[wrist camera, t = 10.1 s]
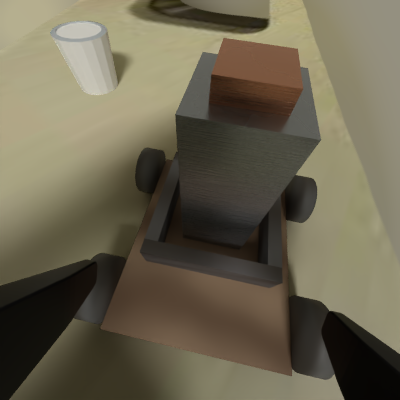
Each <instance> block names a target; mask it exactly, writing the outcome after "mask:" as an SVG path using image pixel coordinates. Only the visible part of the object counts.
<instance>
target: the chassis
mask: <svg viewBox="0 0 400 400" xmlns="http://www.w3.org/2000/svg"><path fill="white" fill-rule="evenodd" d="M135 179H136V186H137V188H138V190H139V191H143V192H148V193H153V196H152V198H151V201H150V203H149V206H148V208H147V211H146V213H145V216H144V218H143V221H142V224H141V226H140V229H139V231H138V234H137V236H136V239H135V241H134V244H133V246H132V249H131V251H130V254H129V256H128V259H127V262H126V260H125V258H123V257H119V256H114V255H110V254H105V253H100V254H98V255H96V256H94V257H93V258H92V259H91V260H92V261H96V262H97V264H98V268H97V281H96V284H95V286H94V288H93V289H92V291H91V292H90V294H89V295H88V297H87V298H86V300H85V301H84V303H83V304H82V306H81V307H80V309H79V310H78V312H77V313H76V315H75V316H74V318H75V319H79V320H83V321H87V322H91V323H95V324H100V323H102V325H101V327H100V329H102V330H106V331H110V332H114V333H118V334H122V335H126V336H130V337H134V338H139V339H143V340H147V341H151V342H155V343H159V344H163V345H167V346H171V347H175V348H179V349H183V350H187V351H191V352H195V353H200V354H204V355H208V356H212V357H216V358H220V359H224V360H228V361H232V362H236V363H240V364H244V365H248V366H252V367H256V368H261V369H265V370H269V371H273V372H277V373H281V374H285V375H289V376H292V369H293V370H294V371H295V372H297V373H300V374H304V375H308V376H312V377H316V378H320V379H324V380H327V379H330V378H331V377H332V376H333V375H334V371H333V368H332V365H331V362H330V359H329V356H328V353H327V350H326V347H325V344H324V341H323V338H322V335H321V328H322V325H323V323H324V320H325V317H326V315H327V313H328V312H329V310H328V308H327V307H326V306H325V305H324V304H323V303H322V302H320V301H317V300H313V299H308V298H304V297H299V296H291V297H290V298H289V283H288V256H287V230H286V220H289V221H294V222H299V223H303V222H305V221H306V220H307V219H308V218H309V217H310V215H311V213H312V211H313V209H314V207H315V203H316V199H317V186H316V182H315V181H314V179H312V178H308V177H303V176H298V175H295V176H294V177H293V179H292V180H291V181H290V183H289V184H288V185H287V187H286V188H285V189H284V191H283V192H282V193H281V195H280V196H279V198H278V199H277V200H276V202H275V203H274V204H273V206H272V207H271V208H270V210H269V211H268V212H267V214H266V215H265V216H264V218H263V219H262V221H261V222H260V223H259V225H258V226H257V227H256V229H255V230H254V231H253V233H252V234H251V235H250V237H249V238H248V240H247V241H246V242H245V244H244V245H243V246H242V248H241V249H240V250H238V249H233V248H229V247H224V246H219V245H215V244H210V243H205V242H201V241H196V240H191V239H187V238H183V230H182V214H181V197H180V181H179V165H178V152H176V154H175V157H174V160H173V161H172V160H166V158H165V153H164V151H162V150H157V149H152V148H145V149H143V151H142V152H141V154H140V156H139V158H138V162H137V166H136V174H135Z"/></svg>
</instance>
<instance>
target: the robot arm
mask: <svg viewBox="0 0 400 400" xmlns="http://www.w3.org/2000/svg"><path fill="white" fill-rule="evenodd" d="M97 268H98V264H97V262H96V261H92V260H83V261H80V262H76V263H73V264H70V265H67V266H63V267H60V268H57V269H54V270H50V271H47V272H44V273H41V274H37V275H34V276H31V277H28V278H24V279H21V280H18V281H15V282H11V283H8V284H5V285H2V286H0V400H9V399H10V398H11V396H12V395H13V394H14V393H15V391H16V390H17V389H18V388H19V386H20V385H21V384H22V383H23V381H24V380H25V379H26V378H27V376H28V375H29V374H30V373H31V371H32V370H33V369H34V368H35V366H36V365H37V364H38V363H39V361H40V360H41V359H42V358H43V356H44V355H45V354H46V353H47V351H48V350H49V349H50V348H51V346H52V345H53V344H54V343H55V341H56V340H57V339H58V338H59V336H60V335H61V334H62V333H63V331H64V330H65V329H66V327H67V326H68V325H69V324H70V322H71V321H72V319H73V318H74V316H75V315H76V313H77V312H78V310H79V309H80V307H81V306H82V304H83V303H84V301H85V300H86V298H87V297H88V295H89V294H90V292H91V291H92V289H93V288H94V286H95V284H96V281H97ZM321 335H322V338H323V341H324V344H325V347H326V350H327V353H328V356H329V359H330V362H331V365H332V368H333V371H334V374H335V377H336V379H337V382H338V385H339V387H340V390H341V392H342V395H343V397H344V399H345V400H400V354H399V353H397V352H396V351H395V350H393V349H392V348H390V347H389V346H388V345H386V344H385V343H383V342H382V341H380V340H379V339H378V338H376V337H375V336H373V335H372V334H370V333H369V332H368V331H366V330H365V329H363V328H362V327H361V326H359V325H358V324H356V323H355V322H353V321H352V320H351V319H349V318H348V317H346V316H345V315H344V314H342V313H339V312H334V311H329V312H328V313H327V315H326V317H325V320H324V323H323V325H322V328H321Z"/></svg>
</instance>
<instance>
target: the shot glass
mask: <svg viewBox="0 0 400 400" xmlns="http://www.w3.org/2000/svg"><path fill="white" fill-rule="evenodd" d="M50 34H51V36H52V38H53V39H54V41H55V43H56V45H57V46H58V48H59V50H60V52H61V54H62V55H63V57H64V59H65V61H66V62H67V64H68V66H69V68H70V69H71V71H72V73H73V75H74V77H75V78H76V80H77V82H78V84H79V85H80V87H81V89H82V91H84V92H85V93H87V94H92V95H102V94H106V93H109V92H111V91H113V90H115V88H116V87H117V86H118V81H117V76H116V71H115V66H114V61H113V56H112V51H111V46H110V41H109V36H108V31H107V28H106V27H105V26H104V25H102V24H100V23H97V22H91V21H74V22H67V23H64V24H60V25H58V26H56V27H54V28H53V29H52V30H51V32H50Z"/></svg>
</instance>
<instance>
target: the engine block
mask: <svg viewBox="0 0 400 400" xmlns="http://www.w3.org/2000/svg"><path fill="white" fill-rule="evenodd" d="M175 116H176V132H177V148H178V165H179V181H180V197H181V214H182V230H183V238H187V239H191V240H196V241H201V242H205V243H210V244H215V245H219V246H224V247H229V248H233V249H238V250H240V249H241V248H242V246H243V245H244V244H245V242H246V241H247V240H248V238H249V237H250V235H251V234H252V233H253V231H254V230H255V229H256V227H257V226H258V225H259V223H260V222H261V221H262V219H263V218H264V216H265V215H266V214H267V212H268V211H269V210H270V208H271V207H272V206H273V204H274V203H275V202H276V200H277V199H278V198H279V196H280V195H281V193H282V192H283V191H284V189H285V188H286V187H287V185H288V184H289V183H290V181H291V180H292V179H293V177H294V176H295V174H296V173H297V172H298V170H299V169H300V168H301V166H302V165H303V164H304V162H305V161H306V160H307V158H308V157H309V156H310V154H311V153H312V151H313V150H314V149H315V147H316V146H317V145H318V143H319V142H320V141H321V138H320V132H319V127H318V121H317V116H316V110H315V105H314V99H313V94H312V88H311V83H310V78H309V72H308V68H303V67H300V61H299V54H298V49H295V48H288V47H281V46H274V45H268V44H261V43H254V42H248V41H241V40H234V39H227V38H224V39H223V42H222V44H221V47H220V50H219V53H218V54H212V53H206V52H203V53H202V55H201V58H200V60H199V62H198V64H197V67H196V69H195V71H194V73H193V76H192V78H191V80H190V83H189V85H188V87H187V89H186V92H185V94H184V96H183V98H182V101H181V103H180V105H179V108H178V110H177V112H176V114H175Z"/></svg>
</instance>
